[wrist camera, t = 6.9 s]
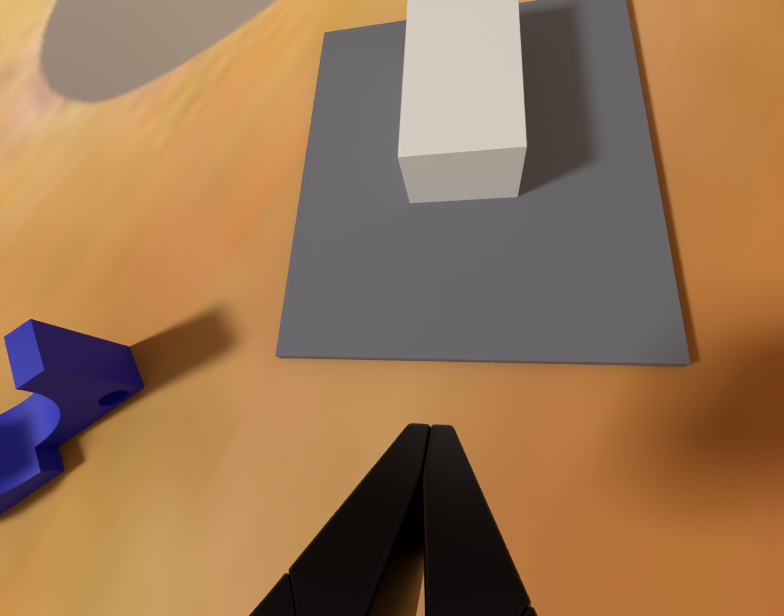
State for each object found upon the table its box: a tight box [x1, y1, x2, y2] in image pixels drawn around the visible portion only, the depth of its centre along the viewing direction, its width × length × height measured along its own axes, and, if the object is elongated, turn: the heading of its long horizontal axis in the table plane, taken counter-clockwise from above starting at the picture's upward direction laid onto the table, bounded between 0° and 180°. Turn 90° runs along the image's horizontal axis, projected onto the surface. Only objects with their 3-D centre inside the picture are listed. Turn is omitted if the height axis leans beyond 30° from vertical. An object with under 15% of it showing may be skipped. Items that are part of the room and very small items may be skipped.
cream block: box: [398, 0, 527, 203], centre depth 22 cm, size 4×6×12 cm
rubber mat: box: [276, 0, 691, 366], centre depth 24 cm, size 24×20×1 cm
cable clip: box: [0, 319, 144, 515], centre depth 21 cm, size 12×4×6 cm, turn 124°
